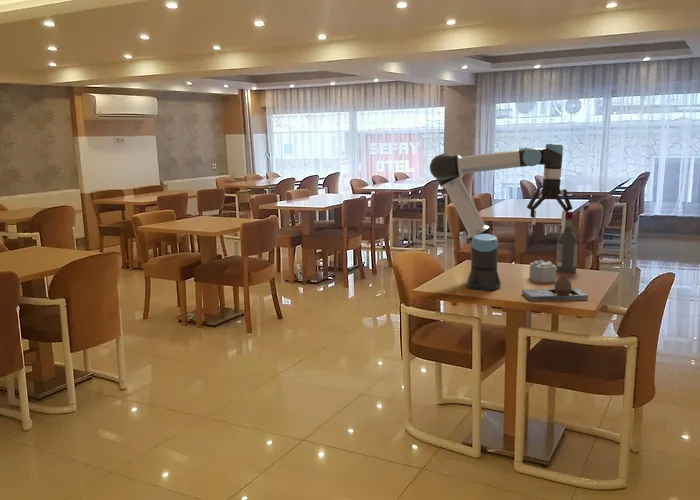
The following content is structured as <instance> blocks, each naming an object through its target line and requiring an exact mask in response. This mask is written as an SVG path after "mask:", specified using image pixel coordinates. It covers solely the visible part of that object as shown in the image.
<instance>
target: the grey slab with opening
mask: <svg viewBox="0 0 700 500" xmlns="http://www.w3.org/2000/svg"><path fill="white" fill-rule="evenodd" d="M521 295H522V296H523V297H525V298H526V299H528V301H530V302H551V301H552V302H557V301H589V294H587V293H585V292H583V291H582V290H580V289H578V288H572V290H571V293H570V294H569V295H557V294H556V293H555V288H537V289H535V288H533V289H521Z"/></svg>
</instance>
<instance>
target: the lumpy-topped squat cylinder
mask: <svg viewBox="0 0 700 500" xmlns="http://www.w3.org/2000/svg"><path fill="white" fill-rule="evenodd" d="M528 277H529V280H531V281H533V282H537V283H551V282H553V283H555V282H556V281H557V280H556V279H557V268H556V265H555V264H553V262H552V261H550V260H548V261H544V260H543V259H540V260H534V261H533V262H530V263H529V276H528Z"/></svg>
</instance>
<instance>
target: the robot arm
mask: <svg viewBox="0 0 700 500" xmlns="http://www.w3.org/2000/svg"><path fill="white" fill-rule="evenodd" d="M563 151H564V146H563V144H561V143H546V144H545V147H528V146H527V147H526V146H524V147H519V148H518V149H516V150H514V149H513V150H508V151H506V150H505V151H498V152H492V153H491V152H487V153H483V154H482V153H480V154H473V155H465V156H461V155H459V154H453V155H452V154H450V153H440V154H438V155H436V156H434V157H433V158H432V159H431V161H430V164H429V171H430V174H431V175H432V177H434V178H435V179H436V180H437V183H438V185H439V186H440V187H441V188H444V189H445V191H446V193H447V194H448V197H449V198H450V200H451V202H452V205H453V207H454V208H455V210H456V212H457V214H458V216H459V218H460V220H461V222H462V223H463V226H464V228H465V230H466V231H467V236H466V239H467V240H468V242H469V244H470V246H471V247H470V248H471V250H470V251H471V252H470V253H471V254H470V255H471V257H470V258H471V259H470V271H469V275H468V278H467V280H466V287H467V288H469V289H471V290H478V291H495V290H498V289H500V288H501V284H502V283H501V279H500V276H499V273H498V254H499V253H498V250H499V240H498V237H497V236H496V235H494V233H493V231H492V229H491V227H490V226H489V225H487V224H485V223H484V221H483V218H482V217H481V215H480V213H479V211H478V209H477V207H476V205H475V203H474V202H473V200H472V198H471V196H470V193H469V192H468V190H467V188H466V186H465V184H464V182H463V176H464V174H471V173H479V172H489V171H496V170H498V171H499V170H505V169H513V168H514V169H515V168H523V167H535V166H538V165H542V166H544V167H543V176H542V177H543V179H542V188H541V189H540V188H537V187H536V188H535V189H534V193H533V195H532V197H531V199H530V200H529V202H528V204H527V206H526V208H527V209H529V210H530V218H531V225H533V226H535V225H536V221H537V219H536V218H537V210H536V209H537V208H538V207H539V206H540V205H541V204H542V203H543V202H544V201H545V200H546V199H547V200H549V199H550V200H556V201H557V202H558V204H559V206H560V207H561V208H562V209H563V210H561V217H560V218H561V221H560V225H561V226H565V218H567V216H568V212H570V211H572V210H573V206H572V204H571V201H570V200H569V197H568V192H567V191H568V190H567V189H565V188H562V189H561V178H562V166H563V155H564V154H563V153H564V152H563ZM540 194H542V195H541V196H540V197H539V195H540ZM559 195H562V197H563V199H564V202H565V203H564V202H563V200H562V198H561V197H560V196H559ZM538 197H539V198H538ZM537 198H538V200H537ZM536 200H537V201H536Z"/></svg>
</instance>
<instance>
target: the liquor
mask: <svg viewBox="0 0 700 500" xmlns="http://www.w3.org/2000/svg"><path fill="white" fill-rule="evenodd" d="M573 214H574V212H573V211H568V216H567V218H565V225H564V229H563V231H562V232H561V233H560V234H559V235H558V236H557V245H556V247H557V248H556V271H557V272H558V273H571V274H573V273H576V271H577V264H578V248H579V247H578V245H579V243H578V242H579V240H578V238H577V237H576V235H575V233H574V232H573V224H572V223H573V216H574V215H573Z"/></svg>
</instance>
